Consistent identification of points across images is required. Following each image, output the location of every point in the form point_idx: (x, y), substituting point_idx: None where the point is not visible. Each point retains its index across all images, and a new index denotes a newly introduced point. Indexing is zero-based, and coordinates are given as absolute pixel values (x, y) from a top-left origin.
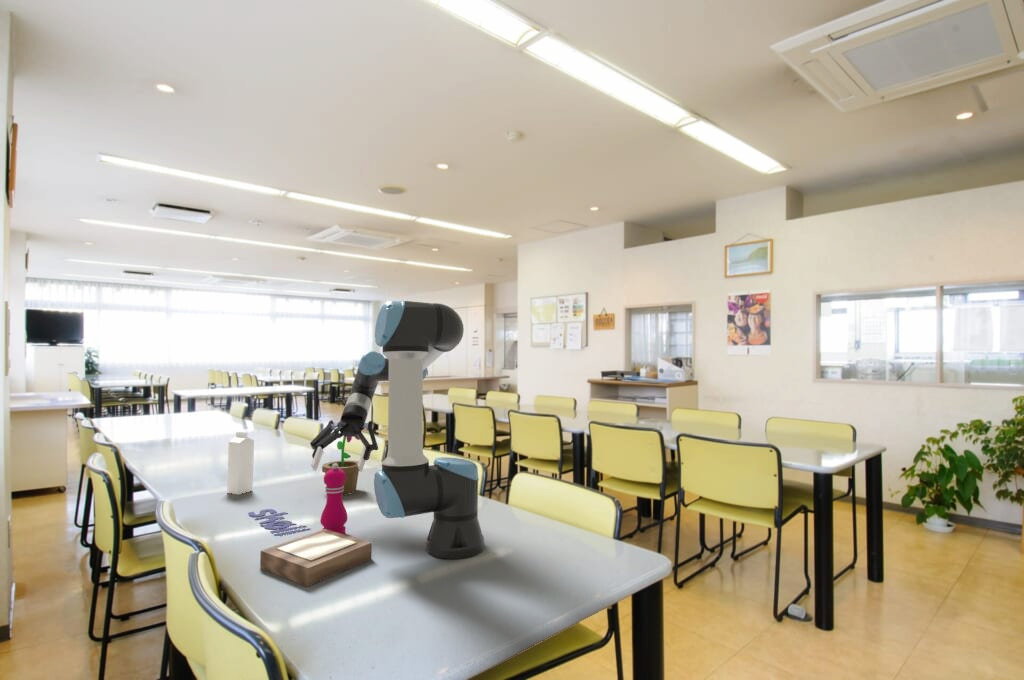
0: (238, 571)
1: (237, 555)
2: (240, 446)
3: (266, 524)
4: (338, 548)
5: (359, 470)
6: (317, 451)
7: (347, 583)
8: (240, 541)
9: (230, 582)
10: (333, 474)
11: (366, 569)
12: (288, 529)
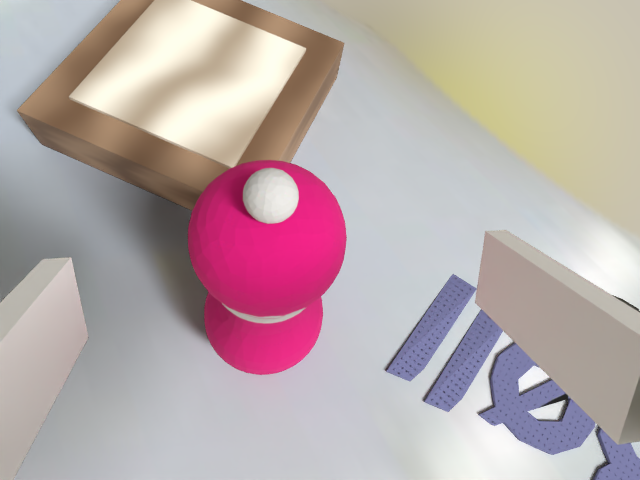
0: (373, 60)
1: (452, 136)
2: None
3: None
4: (115, 52)
5: (82, 323)
6: (603, 300)
7: (70, 20)
8: (531, 225)
9: (348, 17)
10: (250, 162)
11: (39, 84)
12: (466, 349)
